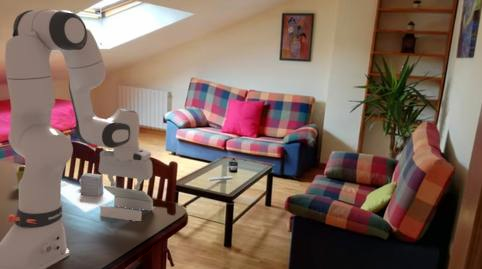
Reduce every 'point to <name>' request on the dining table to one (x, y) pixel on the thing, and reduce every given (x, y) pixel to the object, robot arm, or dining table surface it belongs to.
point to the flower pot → (20, 173)
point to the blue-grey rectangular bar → (129, 208)
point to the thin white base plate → (126, 213)
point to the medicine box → (91, 184)
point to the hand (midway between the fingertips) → (125, 187)
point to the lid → (128, 193)
